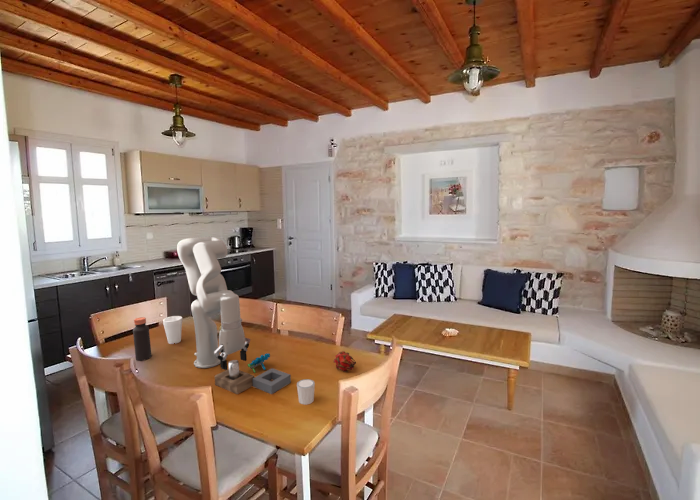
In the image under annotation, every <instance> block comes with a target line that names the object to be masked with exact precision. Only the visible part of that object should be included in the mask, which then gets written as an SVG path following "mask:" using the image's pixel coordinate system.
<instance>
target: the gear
mask: <svg viewBox="0 0 700 500" xmlns="http://www.w3.org/2000/svg"><path fill="white" fill-rule="evenodd" d="M270 357H271V354H270V353H264V354H261V355H260V356H257V357H256V358H255V359H253V360H252V361H251V362H250V363H247V367H248V368H250V370H252V371H253V373H254V374H255V373H256V370H255V368H257V367H258V366H261V367H262V370H263V371H265V370H267V369H266V366H265V365H264V363H265V361H267V360H268V359H269V358H270Z"/></svg>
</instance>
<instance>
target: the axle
mask: <svg viewBox="0 0 700 500" xmlns="http://www.w3.org/2000/svg"><path fill="white" fill-rule="evenodd" d="M239 363H240V362H239V360H237V359H232V360H230V361H228V362H227V365H228V369H229V379H231V380H235V379H237V378H239V370H240V364H239Z"/></svg>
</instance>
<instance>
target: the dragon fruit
mask: <svg viewBox="0 0 700 500" xmlns="http://www.w3.org/2000/svg"><path fill="white" fill-rule="evenodd" d="M333 363H335V367H336V368H335V369H337V370H339V369H340V370H341V371H343V373H349V371H351V370H352V371H353V370H354V368H355V367H354V366H355V365H356V364H357V361H355V360H354V357H353V356H352V355H350V352H346V351H345V350H342V351H339V352H338V353H337V354H336V355H335V358H333ZM348 370H349V371H348Z"/></svg>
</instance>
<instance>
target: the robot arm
mask: <svg viewBox="0 0 700 500" xmlns="http://www.w3.org/2000/svg"><path fill="white" fill-rule="evenodd" d="M176 250H177V251H176V252H177V255H178V258H179V260H180V262H181V263H182V266H183V267H184V270H185V273H186V274H185V275H186V278H187V281H188V286H189V290H190V292H191V294H192V295H193V296H196V298H197V299H195V300H194V301H192V303H191V305H190V310H191V315H192V317H193V324H194V333H195V345H196V352H194V356H196V359H195V360H194V361H193V365H194V367H196V368H198V369H209V368H214V367H216V366H218V365H220V368H221V369H222V370H223V371H226V370H228V360H226V359H227V357H228V356H229V355H231V354H234V353H236V352H238V351H239V355H240V356H239V357H240V360H241V361H243V362H247V361H248V359H247V357H248V356H247V352H248V349H249V347H250V344H251V343H250V342H251V338H248V337H246V335H245V332H244V328H243V325H242V322H243V318H242V317H241V303H240V297H239V295H238V294H237V293H235V292H234V291H232V290H231V289H230V290H228V287H227V283H226V280H225V279H226V278H224V276H223V274H221V272H222V267H221V264H220V262H219V261H218V259H219V260H220V259H224V258H226V257H227V255H228V247H227V244H225V242H224V241H223V240H222V239H219V238H217V237H215V236H203V237H202V236H201V237H199V236H198V237H189V238H188V237H187V238H183V239H181V240H180V241H178V243H177V246H176ZM216 316H220V324H221V325H222V329H221V330H220V333H219V336H218V337H217V330H218V326H217V324H216V322H215V321H214V320H212V318H213V317H216ZM221 325H220V326H221Z"/></svg>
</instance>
